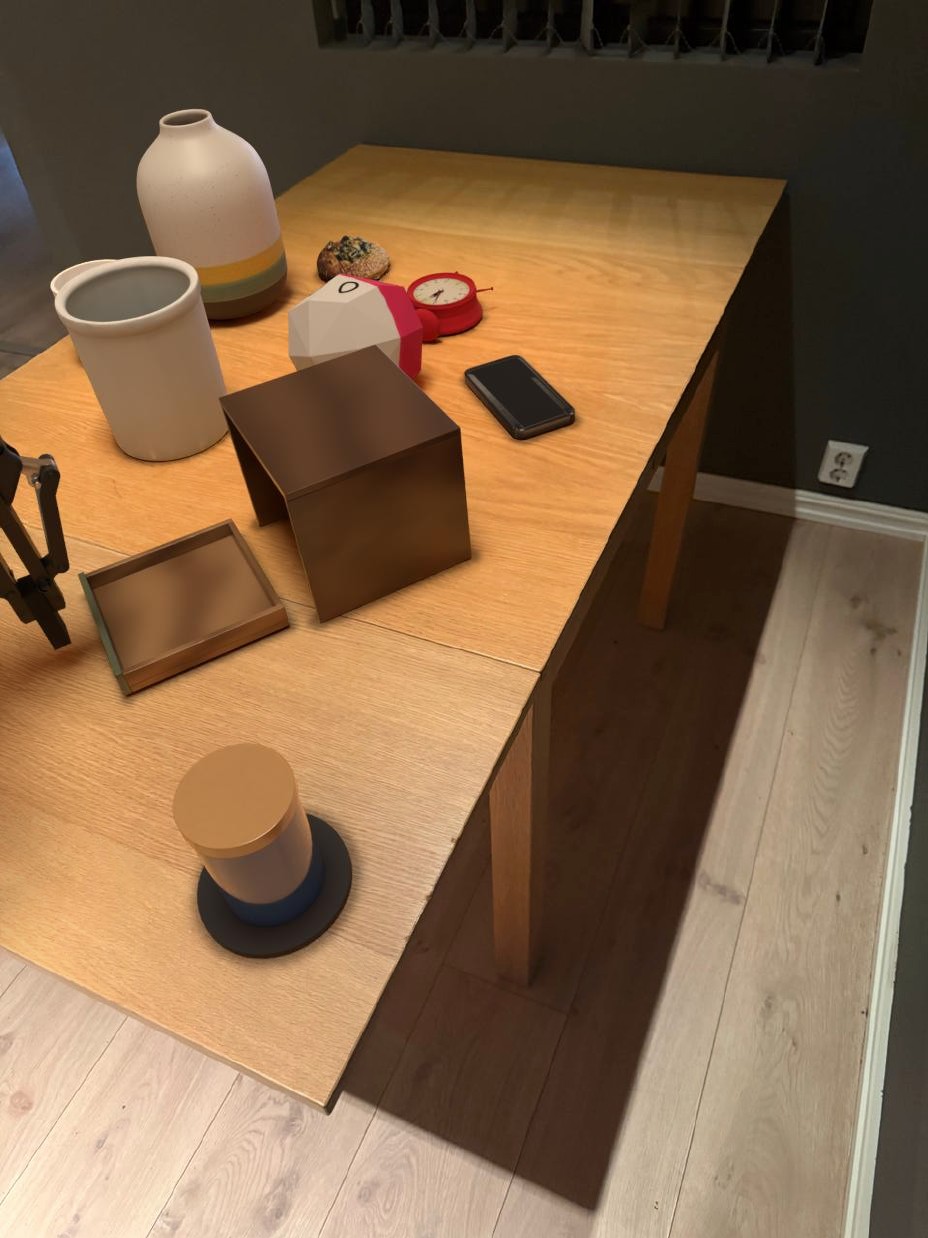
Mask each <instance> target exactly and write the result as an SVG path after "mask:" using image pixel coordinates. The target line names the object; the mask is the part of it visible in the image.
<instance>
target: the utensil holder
mask: <svg viewBox="0 0 928 1238" xmlns="http://www.w3.org/2000/svg"><path fill="white" fill-rule="evenodd" d="M115 260H116V261H112V262H108V263H105V264H102V265H99V266H96V267H94V268H91V269H89V270H87V271H85V272H83V273H81V274H79V275H77V276H75V277H74V278H72V279H71V280H70V281H68V282H67V283H66V284H65V285H64V286H63V287H62V288H61V289H60V290H59V292H58V293H57V295H56V298H55V297H54V308H55V311H56V313H57V316H58V318H59V320H60V322H61V323H62V324H63V325H64V326H65V327H66V331H67V332H68V335H69V337H70V339H71V342H72V344H73V347H74V349H75V352H76V353H77V356H78V358H79V360H80V362H81V365H82V367H83V370H84V372H85V374H86V377H87V379H88V381H89V383H90V385H91V388H92V390H93V392H94V395H95V397H96V399H97V402H98V404H99V406H100V409H101V411H102V413H103V415H104V418H105V420H106V422H107V424H108V426H109V428H110V430H111V433H112V435H113V437H114V439H115V441H116V443H117V445H118V447H119V448H120V449H121V450H122V452H124V453H125V454H127V456H130V457H131V458H135V459H139V460H141V461H142V460H143V461H150V462H164V461H165V462H167V461H174V460H179V459H183V458H184V459H185V458H187V457H190V456H193V455H196V454H199V453H201V452H203V451H205V450H207V449H208V448H210V447H212V446H213V445H215V444H217V442H219V441H220V440H221V439H222V438H223V437H224V436H225V435H226V434H227V432H229V430H228V427H227V424H226V421H225V417H224V414H223V411H222V408H221V404H220V402H219V398H220V397H223V396H226V395H228V392H227V386H226V383H225V379H224V375H223V371H222V367H221V363H220V360H219V356H218V352H217V348H216V345H215V342H214V338H213V335H212V331H211V328H210V323H209V319H207V316H206V312H205V308H204V305H203V301H202V298H201V295H200V291H201V286H200V281H199V277H198V274H197V272H196V270H195V269H194V268H193V267H192V266H191V265H189V264H188V263H186V262H183V261H181V260H178V259H174V258H169V257H160V256H157V255H156V256H152V255H151V256H149V255H147V256H135V257H126V258H122V259H115Z"/></svg>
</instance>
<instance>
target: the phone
mask: <svg viewBox="0 0 928 1238" xmlns="http://www.w3.org/2000/svg"><path fill="white" fill-rule="evenodd" d="M463 375H464V383H465V384H466V385H467V386H468V388H469V389H470V390H471V391H472V392H473V393H474V394H475V395H476V396H477V398H478V399H479V400H480V401H481V403H482V404H483V405H484V406H485V407H486V408H487V409H488V411H490V412H491V414H492V415H493V416H494V417H495V418H496V420H498V422H499V423H500V424H501V425H502V427H504V428H505V430H506V431H507V432H508V433H509V434H510V435H511V437H512V438H514V439H517V440H526V439H529V438H532V437H536V436H538V435H541V434H544V433H547V432H550V431H553V430H556V429H559V428H561V427H565V426H568V425H570V424H573V423H574V422H575V420H576V408H575V407H573V405H572V404H571V403H569V401H567V399H565V398H564V396H563V395H561V393H560V392H558V391H557V389H555V387H553V386H552V384H551V383H549V382H548V380H546V379H545V377H544V376H542V375H541V374H540V372H539V371H537V370H536V369H535V368H534V366H532V365H531V364H530V363H529V361H527V360H526V359H525V358H524V357H523V356H522V355H519V354H511V355H507V356H504V357H501V358H498V359H494V360H491V361H488V362H485V363H481V364H478V365H475V366H471V367H469V368H467V369H465V371H464V373H463Z"/></svg>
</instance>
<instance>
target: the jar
mask: <svg viewBox="0 0 928 1238" xmlns="http://www.w3.org/2000/svg"><path fill="white" fill-rule="evenodd" d="M305 811H306V810H305V809H304V806H303V804H302V801H301V798H300V796H299V786H298V782H297V779H296V776H295V774H294V771H293V769H292V767H291V765H290V763H289V762H288V759H286V758H285V757H284V756H283V755H282V754H281V753H280V752H278V751H276V750H275V749H273V748H271V747H268V746H266V745H262V744H259V743H237V744H230V745H226V746H224V747H221V748H218V749H216V750H213V751H211V752H210V753H208V754H206V755H205V756H203V757H202V758H200V759H199V760H197V762H195V763H194V764H193V765H192V766H191V767H190V768H189V769H188V770H187V771H186V772H185V774H184V775H183V777H182V778H181V780H180V781H179V783H178V785H177V788H176V790H175V793H174V796H173V801H172V814H173V815H172V816H173V819H174V823H175V825H176V827H177V830H178V832H180V834H181V836H182V837H183V839H184V840H185V842H186V843H187V844H188V845H189V846H190V847H191V848H192V849H194V851H195V852H196V854H197V856H198V857H199V860H200V861H201V863H202V864H203V867H204V866H205V868H206V869H207V871H208V873H209V875H210V876H211V878H212V880H213V881H214V883H215V885H216V886H217V888H218V890H219V892H220V893H221V895H222V897H223V898H224V900H225V902H226V903H227V905H228V907H229V909H230V910H231V911H232V913H233V914H234V915H235V916H236V917H237V918H239V919H240V920H242V921H243V922H246V923H248V924H251V925H254V926H261V927H269V926H276V925H280V924H283V923H286V922H289V921H291V920H293V919H295V918H296V917H298V916H299V915H301V914H302V913H303V912H304V911H306V910H307V909H308V908H309V906H310V905H311V904H312V903H313V902H314V900H315V899H316V897H317V896H318V894H319V892H320V890H321V887H322V884H323V880H324V862H323V859H322V856H321V853H320V850H319V848H318V845H317V843H316V840H315V837H314V835H313V832H312V830H311V827H310V824H309V822H308V819H307V816H306V814H307V813H306V812H305ZM305 813H306V814H305Z"/></svg>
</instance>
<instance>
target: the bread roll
mask: <svg viewBox="0 0 928 1238" xmlns="http://www.w3.org/2000/svg"><path fill="white" fill-rule="evenodd" d="M389 265H390V255H389V254H388V252H387V250H386V249H385V248H384V247H382V246H381V245H380V244H378V243H376V242H373V241H369V240H363V239H362V237H360V236H356V238H354V237H353V236H350V235H348V234H347V235H343V237H342V238H341V239H340V240H337V241H336V242H334V241H333V240H332V239H330V240H329V242H327V243H326V245H325V246H324V247H323V248H322V250H321V251H320V252H319V254H318V256H317V259H316V268H317V270H316V271H317V273H318V277H319V278H320V279H322V280H324V281H327V282H329V281H330V280H332V279H333V278H334V277H336V276H337V275H339V274H340V273H341V274H346V275H351V276H356V277H361V278H365V279H370V280H377V279H380V278H381V277H382V275H383V274H384V273H385V272H386V271H387V270H389V269H388V266H389Z"/></svg>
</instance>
